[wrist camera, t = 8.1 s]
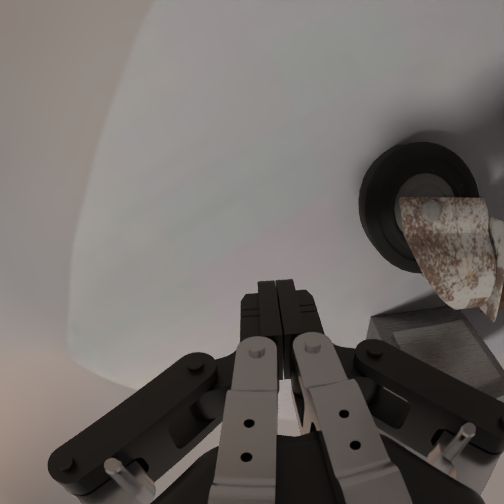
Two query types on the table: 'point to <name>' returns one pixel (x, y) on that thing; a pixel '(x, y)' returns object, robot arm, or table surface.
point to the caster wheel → (435, 224)
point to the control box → (442, 348)
